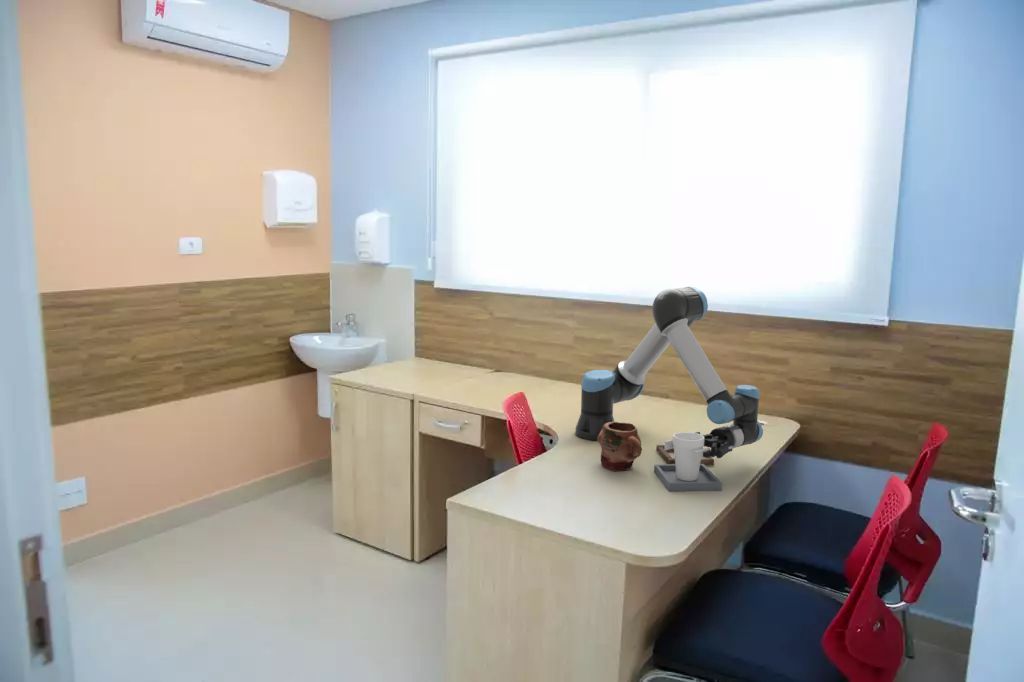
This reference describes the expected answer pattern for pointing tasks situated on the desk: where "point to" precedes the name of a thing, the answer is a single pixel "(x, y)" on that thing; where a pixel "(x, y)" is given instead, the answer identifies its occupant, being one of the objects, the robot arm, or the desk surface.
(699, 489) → the charcoal tray
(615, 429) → the sculpted ceramic mug
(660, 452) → the walnut collar
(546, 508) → the desk surface
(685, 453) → the foam cup
